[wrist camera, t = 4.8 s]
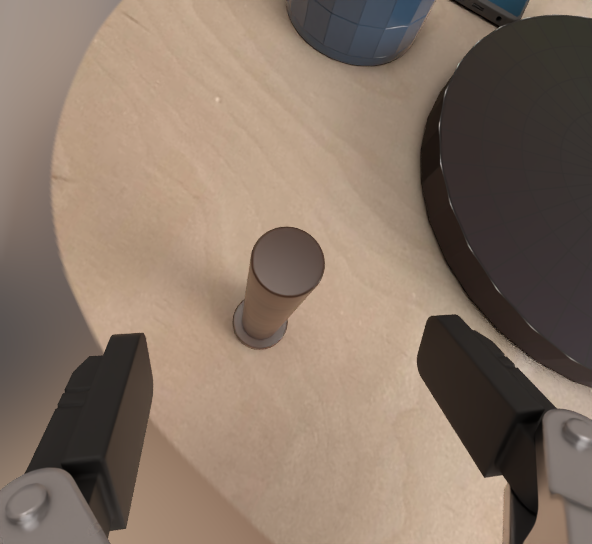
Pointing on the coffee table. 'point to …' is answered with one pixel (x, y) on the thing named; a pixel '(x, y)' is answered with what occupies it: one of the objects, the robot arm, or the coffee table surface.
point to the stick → (277, 285)
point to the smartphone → (497, 9)
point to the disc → (520, 185)
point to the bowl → (359, 27)
